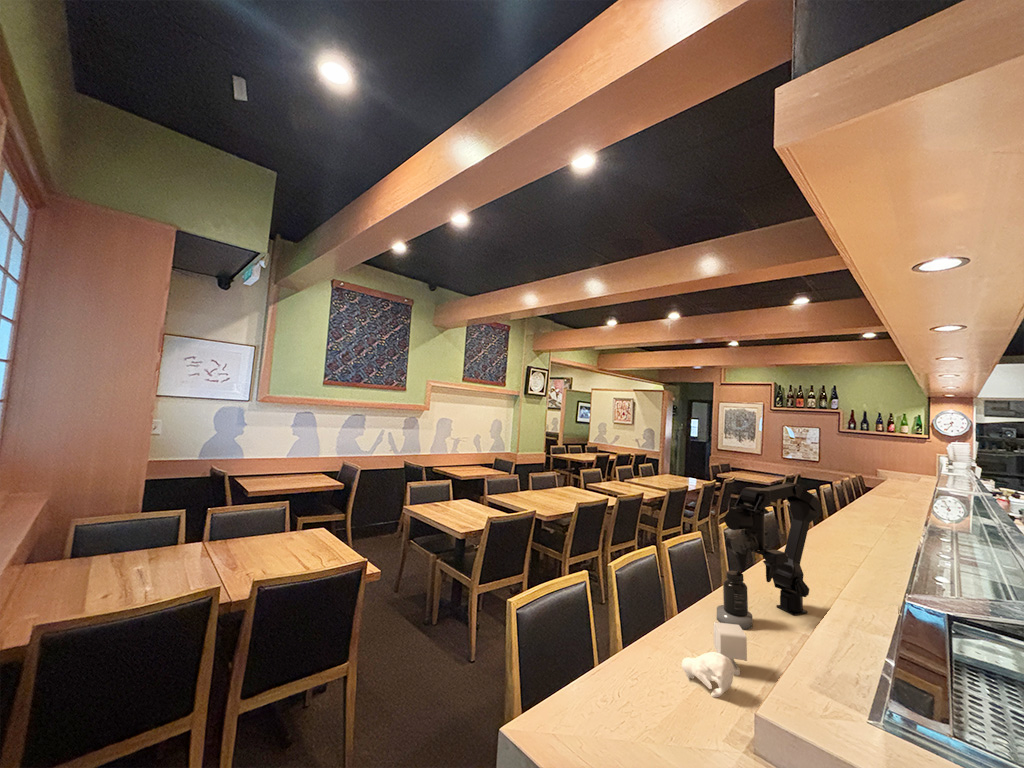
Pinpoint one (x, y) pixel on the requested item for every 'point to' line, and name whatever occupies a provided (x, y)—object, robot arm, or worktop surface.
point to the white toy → (710, 670)
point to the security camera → (730, 642)
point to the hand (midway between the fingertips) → (755, 576)
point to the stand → (734, 618)
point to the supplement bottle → (735, 594)
